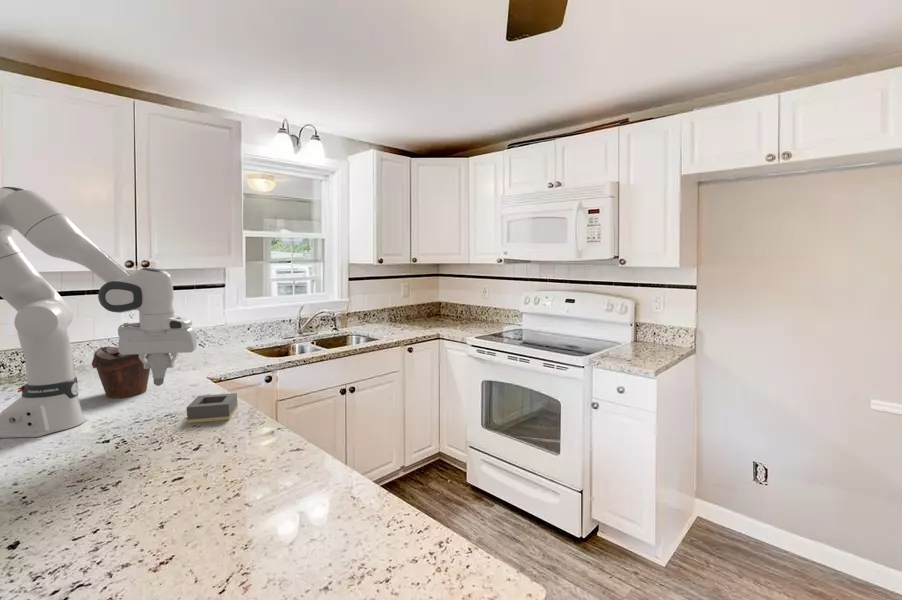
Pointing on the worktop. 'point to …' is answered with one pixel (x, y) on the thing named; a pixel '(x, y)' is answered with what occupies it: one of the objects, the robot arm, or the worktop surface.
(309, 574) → the worktop surface
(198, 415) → the socket block
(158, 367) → the lightbulb
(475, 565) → the worktop surface
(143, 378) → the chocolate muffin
